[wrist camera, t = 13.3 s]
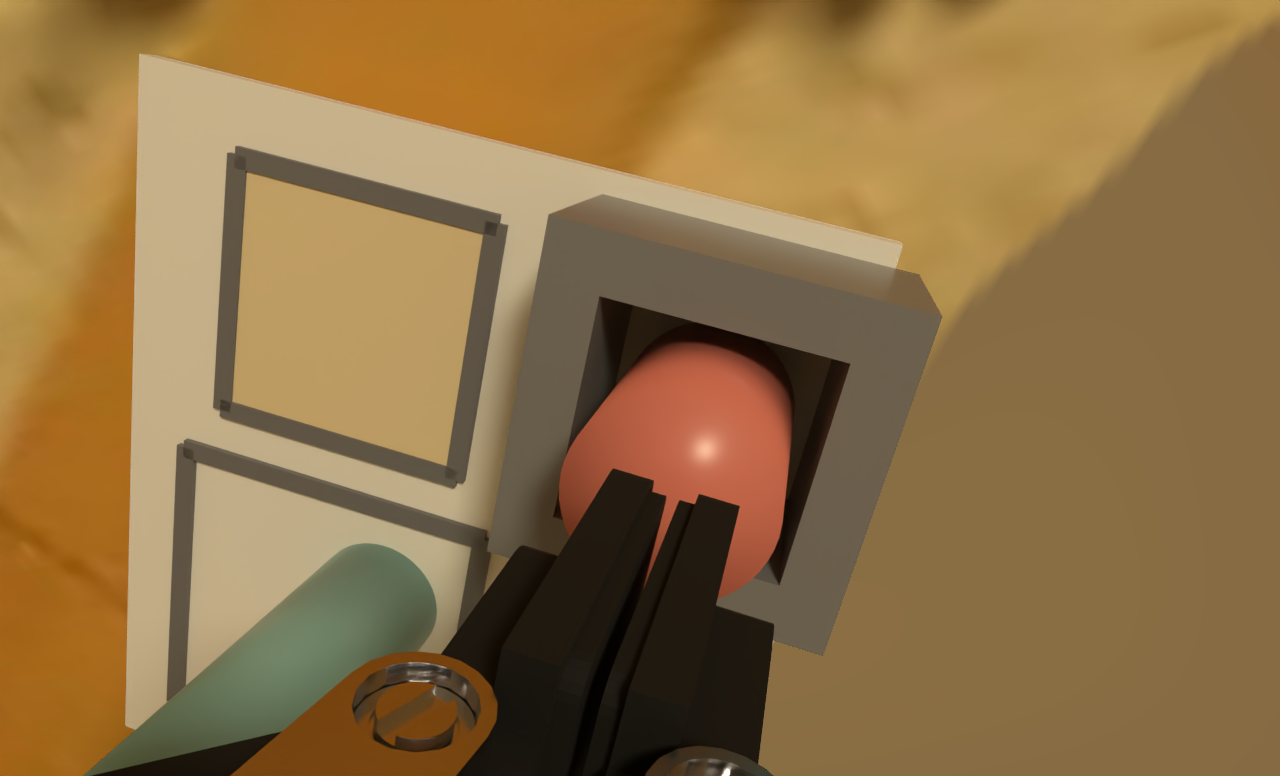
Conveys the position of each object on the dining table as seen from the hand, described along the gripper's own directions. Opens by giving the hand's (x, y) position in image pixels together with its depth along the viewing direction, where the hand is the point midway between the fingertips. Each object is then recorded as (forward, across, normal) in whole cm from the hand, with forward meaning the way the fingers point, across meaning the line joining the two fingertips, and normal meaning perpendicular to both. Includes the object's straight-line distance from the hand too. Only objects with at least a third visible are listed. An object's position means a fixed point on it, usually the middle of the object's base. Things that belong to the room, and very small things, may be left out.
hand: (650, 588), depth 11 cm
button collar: (+9, 0, 0) cm, 9 cm away
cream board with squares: (+10, +6, +6) cm, 13 cm away
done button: (+8, 0, 0) cm, 8 cm away
